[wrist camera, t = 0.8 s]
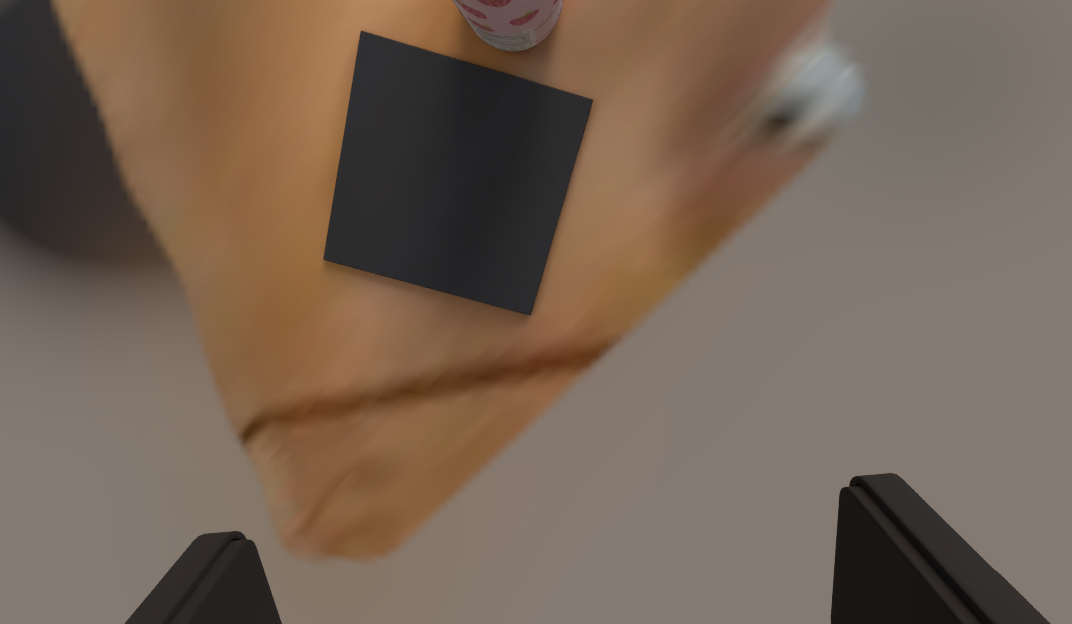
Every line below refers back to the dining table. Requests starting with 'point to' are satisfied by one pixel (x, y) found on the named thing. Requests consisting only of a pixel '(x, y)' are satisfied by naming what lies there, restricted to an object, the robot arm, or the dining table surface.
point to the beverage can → (511, 21)
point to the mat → (452, 173)
